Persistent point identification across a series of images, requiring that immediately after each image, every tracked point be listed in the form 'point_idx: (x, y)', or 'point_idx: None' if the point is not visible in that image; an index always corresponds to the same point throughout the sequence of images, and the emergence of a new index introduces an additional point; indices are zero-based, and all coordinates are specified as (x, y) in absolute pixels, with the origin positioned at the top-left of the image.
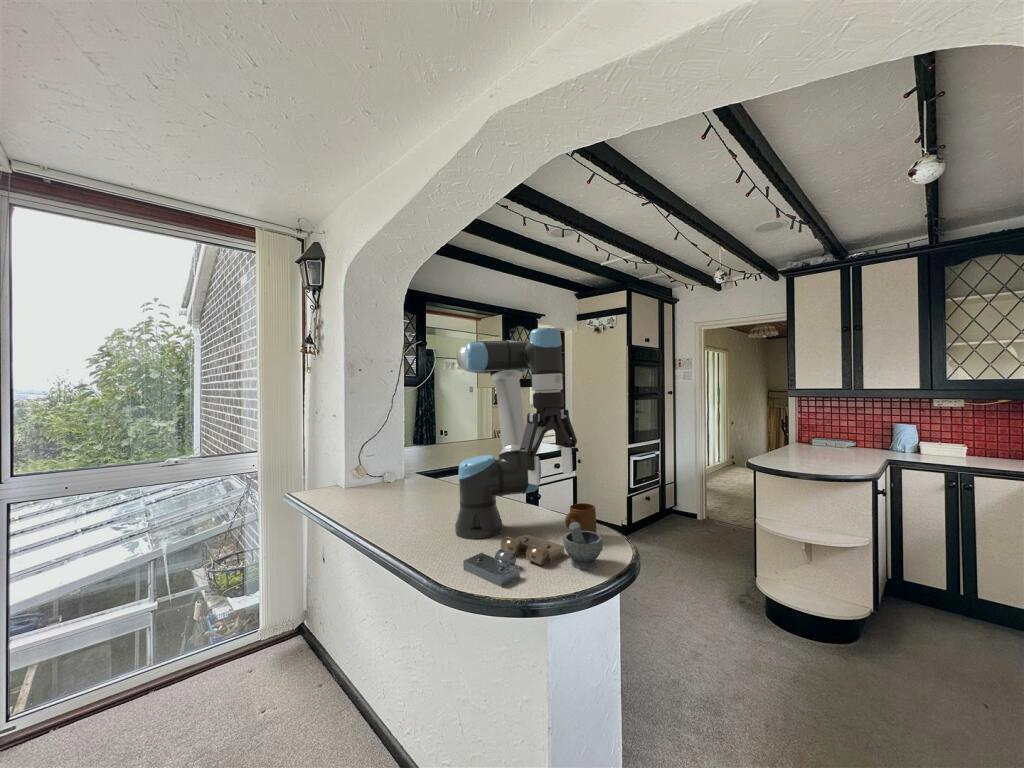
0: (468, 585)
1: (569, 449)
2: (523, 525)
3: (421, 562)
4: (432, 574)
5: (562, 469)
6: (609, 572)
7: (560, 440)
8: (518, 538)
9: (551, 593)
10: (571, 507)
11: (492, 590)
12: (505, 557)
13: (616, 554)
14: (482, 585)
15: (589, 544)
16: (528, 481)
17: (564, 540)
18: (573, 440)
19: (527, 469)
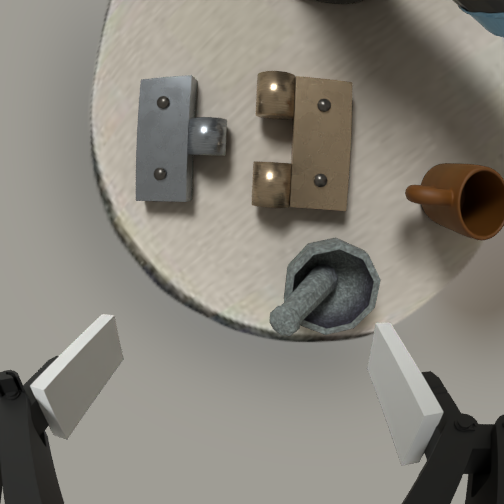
0: (113, 145)
1: (400, 458)
2: (423, 25)
3: (127, 5)
4: (104, 61)
5: (379, 334)
6: None
7: (425, 467)
8: (317, 83)
9: (186, 284)
10: (477, 170)
11: (127, 193)
12: (190, 152)
13: (400, 295)
14: (127, 164)
15: (301, 325)
16: (97, 319)
17: (299, 258)
18: (468, 480)
19: (54, 359)
